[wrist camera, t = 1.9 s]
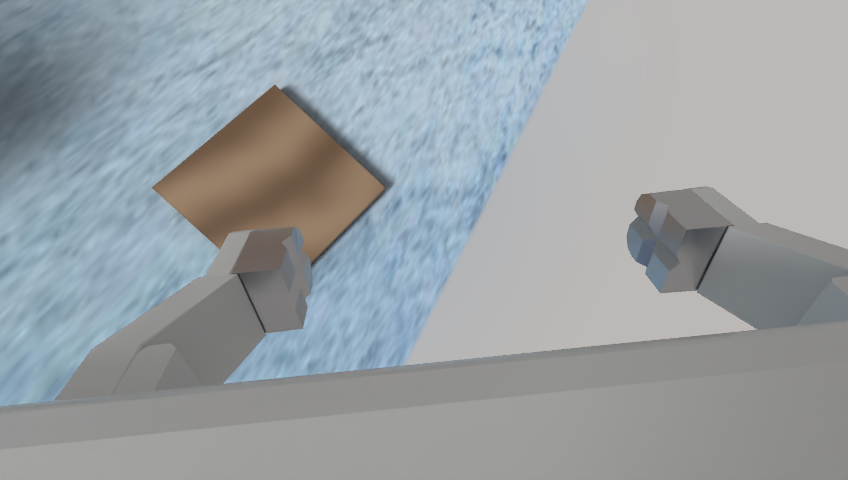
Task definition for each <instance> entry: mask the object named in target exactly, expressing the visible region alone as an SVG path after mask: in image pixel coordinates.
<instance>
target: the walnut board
mask: <svg viewBox="0 0 848 480" xmlns="http://www.w3.org/2000/svg"><path fill="white" fill-rule="evenodd" d="M152 188H153V189H154V190H155V191H156V192H157V193H158V194H159V195H161V196H162V197H163V198H164V199H165V200H166V201H167V202H168V203H169V204H170V205H172V206H173V207H174V208H175V209H176V210H177V211H178V212H179V213H180V214H182V215H183V216H184V217H185V218H186V219H187V220H188V221H189V222H190V223H191V224H193V225H194V226H195V227H196V228H197V229H198V230H199V231H200V232H201V233H202V234H204V235H205V236H206V237H207V238H208V239H209V240H210V241H211V242H212V243H214V244H215V245H216V246H217V247H218V248H219V249H221V247H222V245H223V243H224V241H225V239H226V238H227V236H228V234H229V233H231V232H234V231H244V230H256V229H269V228H283V227H297V228H298V229H300V232H301V235H302V237H303V240H304V242H303V246H302V251H303V252H304V253H306V254H307V255H308V256H309V259H310V263H311V265H312V264H313V263H314V262H315V261H316V259H317V258H318V257H319V256H320V255H321V254H322V253H323V252H324V251H325V250H326V249H327V248H328V247H329V246H330V245H331V244H332V243H333V242H334V241H335V240H336V239H337V238H338V237H339V236H340V235H341V234H342V233H343V232H344V231H345V230H346V229H347V228H348V227H349V226H350V225H351V224H352V223H353V222H354V221H355V220H356V219H357V218H358V217H359V216H360V215H361V214H362V213H363V212H364V211H365V210H366V209H367V208H368V207H369V206H370V205H371V204H372V203H373V202H374V201H375V200H376V199H377V198H378V197H379V196H380V195H381V194H382V193H383V192H384V190H385V187H384V186H383V185H382V184H381V183H380V182H379V181H378V180H377V179H376V178H374V177H373V176H372V175H371V174H370V173H369V172H368V171H367V170H366V169H365V168H364V167H363V166H362V165H361V164H359V163H358V162H357V161H356V160H355V159H354V158H353V157H352V156H351V155H350V154H349V153H348V152H347V151H345V150H344V149H343V148H342V147H341V146H340V145H339V144H338V143H337V142H336V141H335V140H334V139H333V138H331V137H330V136H329V135H328V134H327V133H326V132H325V131H324V130H323V129H322V128H321V127H320V126H319V125H318V124H316V123H315V122H314V121H313V120H312V119H311V118H310V117H309V116H308V115H307V114H306V113H305V112H304V111H302V110H301V109H300V108H299V107H298V106H297V105H296V104H295V103H294V102H293V101H292V100H291V99H290V98H289V97H287V96H286V95H285V94H284V93H283V92H282V91H281V90H280V89H279V88H278V87H277V86H276V85H274V86H273V87H272V88H270V89H269V90H268V91H267V92H266V93H264V94H263V95H262V96H261V97H260V98H258V99H257V100H256V101H255V102H254V103H252V104H251V105H250V106H249V107H248V108H246V109H245V110H244V111H243V112H242V113H241V114H239V115H238V116H237V117H236V118H235V119H233V120H232V121H231V122H230V123H229V124H227V125H226V126H225V127H224V128H223V129H221V130H220V131H219V132H218V133H217V134H215V135H214V136H213V137H212V138H211V139H209V140H208V141H207V142H206V143H205V144H204V145H202V146H201V147H200V148H199V149H198V150H196V151H195V152H194V153H193V154H192V155H190V156H189V157H188V158H187V159H186V160H184V161H183V162H182V163H181V164H180V165H178V166H177V167H176V168H175V169H174V170H172V171H171V172H170V173H169V174H168V175H167V176H165V177H164V178H163V179H162V180H161V181H159V182H158V183H157V184H156V185H155V186H153V187H152Z"/></svg>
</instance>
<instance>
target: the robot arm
mask: <svg viewBox="0 0 848 480" xmlns="http://www.w3.org/2000/svg"><path fill="white" fill-rule="evenodd" d="M635 211H636V213H637V215H638V217H637V218H636V219H635V220H634V221H633V222H632V223H631V224H630V226H629V230H628V233H627V243H628V249H629V251H630V253H631V255H632V257H633V258H634V259H635V261H636V262H638V263H640V264H642V265H644V266H646V267H647V269H646V273H645V274H646V275H647V276H648V278H649V279H650V280H651V282H652V283H653V284H654V285H655V287H656V288H657V289H658V291H659V292H660V293H667V292H668V293H669V292H682V291H696V290H697V293H699V294H701V295H702V296H704V297H706V298H707V299H709V300H710V301H712V302H714V303H715V304H717V305H719V306H721V307H722V308H724V309H725V310H727V311H728V312H730V313H732V314H733V315H735V316H737V317H738V318H740V319H741V320H743V321H745V322H746V323H748V324H750V325H751V326H753V327H754V328H756V329H758V330H750V331H742V332H731V333H722V334H712V335H701V336H691V337H682V338H671V339H661V340H651V341H641V342H632V343H621V344H611V345H601V346H591V347H581V348H571V349H561V350H552V351H542V352H532V353H522V354H513V355H503V356H493V357H483V358H473V359H464V360H455V361H444V362H434V363H424V364H415V365H405V366H395V367H385V368H375V369H365V370H355V371H346V372H336V373H326V374H316V375H306V376H296V377H287V378H277V379H267V380H257V381H247V382H237V383H227V384H223V383H224V382H225V381H226V380H227V378H228V377H229V376H230V375H231V374H232V373H233V372H234V371H235V369H236V368H237V367H238V366H239V365H240V364H241V363H242V362H243V360H244V359H245V358H246V357H247V356H248V355H249V354H250V352H251V351H252V350H253V349H254V348H255V347H256V346H257V345H258V343H259V342H260V341H261V340H262V339H263V338H264V337H265V336H266V334H265V333H272V332H280V331H288V330H296V329H303V325H304V320H305V316H306V312H307V304H306V301H305V298H306V297H307V296H308V295H309V294H310V293H311V288H312V268H311V263H310V259H309V256H308V255H307V254H306V253H304V252H303V251H302V246H303V242H304V240H303V237H302V235H301V232H300V229H298V228H297V227H283V228H269V229H256V230H244V231H234V232H231V233H229V234H228V236H227V238H226V239H225V241H224V243H223V245H222V247H221V249H220V250H219V252H218V254H217V256H216V258H215V260H214V261H213V263H212V265H211V267H210V269H209V271H208V272H207V274H206V276H205V277H200V278H197V279H195V280H194V281H192V282H191V283H189V284H188V285H186V286H185V287H183V288H182V289H181V290H179V291H178V292H176V293H175V294H173V295H172V296H170V297H169V298H167V299H166V300H164V301H163V302H161V303H160V304H158V305H157V306H155V307H154V308H152V309H151V310H149V311H148V312H146V313H145V314H143V315H142V316H140V317H139V318H137V319H136V320H134V321H133V322H131V323H130V324H128V325H127V326H125V327H124V328H123V329H121V330H120V331H118V332H117V333H115V334H114V335H112V336H111V337H109V338H108V339H106V340H105V341H103V342H102V343H100V344H99V345H97V346H96V347H94V348H93V349H91V351H90V352H89V354H88V355H87V356H86V358H85V359H84V360H83V362H82V363H81V365H80V366H79V367H78V369H77V370H76V371H75V373H74V374H73V376H72V377H71V378H70V380H69V381H68V382H67V384H66V385H65V387H64V388H63V389H62V391H61V392H60V394H59V395H58V396H57V398H56V399H55V400H54V401H49V402H39V403H29V404H20V405H10V406H0V480H848V249H845V248H842V247H839V246H836V245H832V244H829V243H826V242H823V241H820V240H817V239H814V238H811V237H808V236H805V235H802V234H799V233H796V232H792V231H789V230H787V229H784V228H780V227H777V226H774V225H771V224H768V223H758V222H757V221H756V220H754V219H753V218H752V217H750V216H749V215H747V214H746V213H745V212H744V211H742V210H741V209H740V208H738V207H737V206H736V205H734V204H733V203H732V202H731V201H729V200H728V199H727V198H725V197H724V196H723V195H721V194H720V193H719V192H717V191H716V190H715V189H713V188H710V187H698V188H691V189H684V190H676V191H667V192H660V193H650V194H642V195H641V196H640V198H639V199H638V200H637V203H636V206H635Z"/></svg>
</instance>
